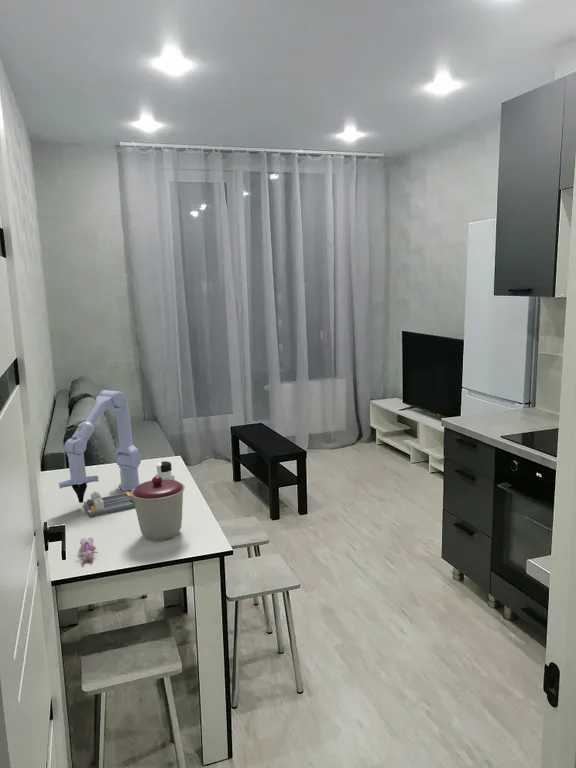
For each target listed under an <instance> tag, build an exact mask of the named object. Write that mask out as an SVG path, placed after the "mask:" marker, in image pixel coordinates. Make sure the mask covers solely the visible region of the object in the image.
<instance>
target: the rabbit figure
mask: <svg viewBox="0 0 576 768" xmlns="http://www.w3.org/2000/svg"><path fill="white" fill-rule="evenodd" d="M79 544H80V547H79V549H78V552H79V554H77V555H76V556H77V557H80V556H81V562H82V566H84V565H86V563H87V562H90V564H93V563H94V554H98V551H97V550H96V548H97V547H96V546H95V545H94V538H93V537H92V536H89V537H88V538H87V539H86V538H85V537H82V538H81V539H80V541H79Z"/></svg>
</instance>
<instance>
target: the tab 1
mask: <svg viewBox="0 0 576 768" xmlns="http://www.w3.org/2000/svg"><path fill="white" fill-rule="evenodd" d="M97 498H99V499H100V498H101V494H100V492H99V491H97V492H96V491H93V492H91V493H90V500H91V501H92V503H93V504H94V500H95V499H97Z"/></svg>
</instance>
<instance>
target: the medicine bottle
mask: <svg viewBox="0 0 576 768" xmlns="http://www.w3.org/2000/svg"><path fill="white" fill-rule="evenodd" d="M155 476H160V477H161V478H162V479H170V480H175V479H176V478H175V474H174V471H173V470H172V463H171V461H167V460H166V461H160V462H158V463H156V472H155V473H154V477H155ZM175 481H176V480H175Z"/></svg>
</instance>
